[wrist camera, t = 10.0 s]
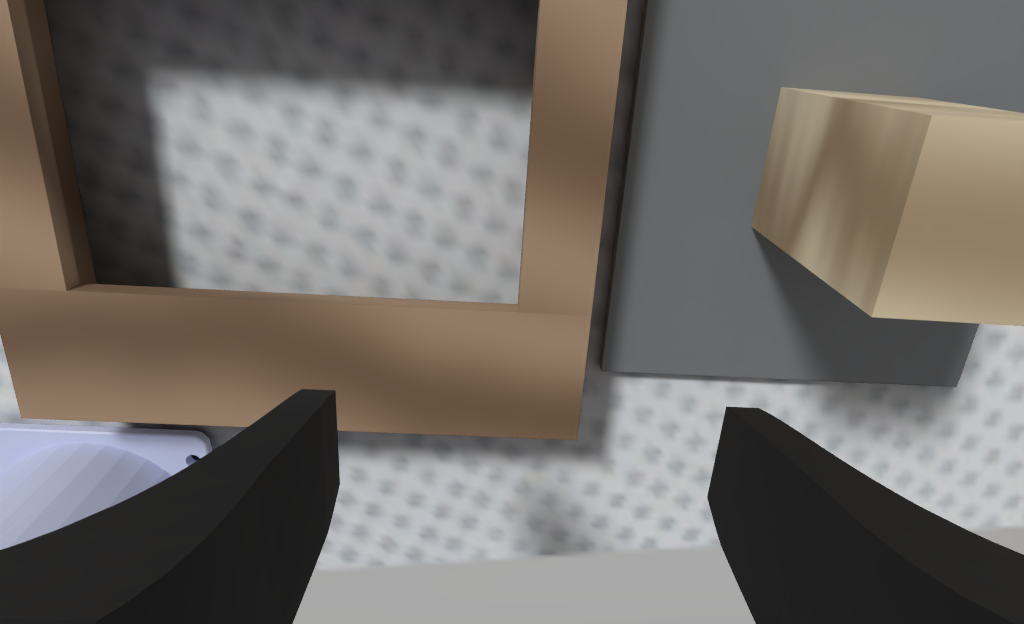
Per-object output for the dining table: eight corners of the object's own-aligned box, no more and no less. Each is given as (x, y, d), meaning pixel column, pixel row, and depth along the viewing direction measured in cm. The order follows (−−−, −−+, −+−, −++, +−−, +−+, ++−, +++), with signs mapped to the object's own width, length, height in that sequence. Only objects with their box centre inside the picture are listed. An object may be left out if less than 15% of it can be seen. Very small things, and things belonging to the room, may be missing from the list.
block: (880, 235, 20) (1058, 327, 14) (751, 226, 20) (871, 317, 14) (919, 97, 19) (1141, 130, 12) (780, 87, 19) (931, 115, 12)
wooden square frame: (567, 390, 23) (577, 440, 20) (81, 370, 22) (21, 418, 19) (626, -178, 17) (653, -221, 14) (-43, -232, 16) (-157, -288, 13)
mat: (949, 381, 23) (956, 386, 22) (599, 365, 22) (601, 370, 22) (1114, -93, 18) (1127, -95, 17) (660, -128, 17) (664, -131, 17)
